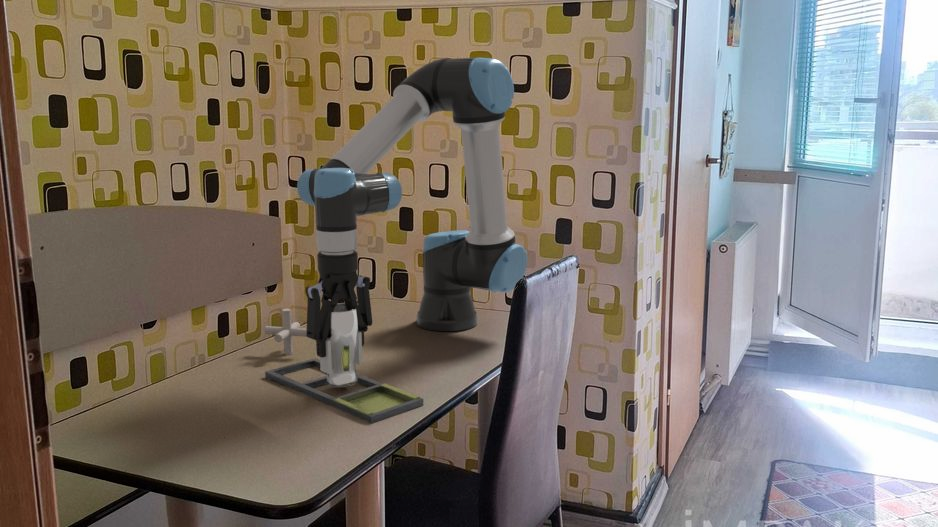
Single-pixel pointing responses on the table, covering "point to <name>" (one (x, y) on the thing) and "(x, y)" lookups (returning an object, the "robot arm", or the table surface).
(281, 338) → the pipe connector
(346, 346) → the beer glass
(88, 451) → the table surface
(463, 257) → the robot arm
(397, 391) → the grey flat frame
